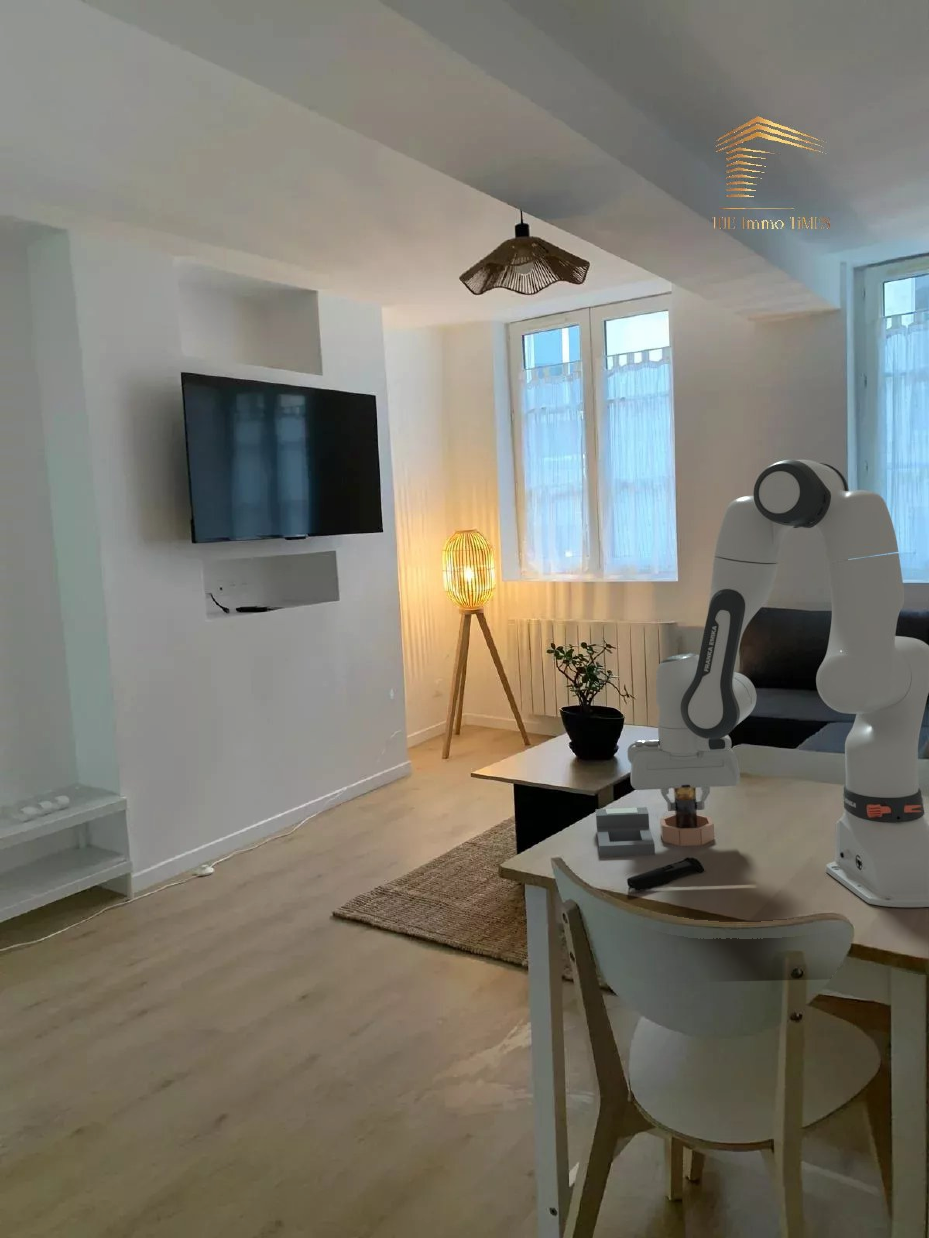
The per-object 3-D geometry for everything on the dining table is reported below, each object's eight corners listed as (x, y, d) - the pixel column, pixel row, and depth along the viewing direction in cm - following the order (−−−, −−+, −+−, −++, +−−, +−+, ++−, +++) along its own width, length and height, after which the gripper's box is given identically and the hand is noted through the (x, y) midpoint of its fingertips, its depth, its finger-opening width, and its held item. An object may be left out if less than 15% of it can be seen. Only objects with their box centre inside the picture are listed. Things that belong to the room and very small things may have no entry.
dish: (717, 846, 175) (716, 828, 174) (664, 848, 176) (663, 830, 175) (708, 829, 184) (708, 812, 184) (659, 831, 185) (658, 814, 185)
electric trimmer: (622, 892, 158) (621, 874, 158) (692, 869, 165) (691, 851, 165) (636, 899, 155) (635, 880, 154) (707, 875, 162) (706, 857, 162)
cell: (699, 830, 177) (696, 780, 176) (677, 831, 178) (674, 781, 177) (696, 823, 182) (693, 774, 180) (674, 824, 182) (671, 775, 181)
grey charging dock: (655, 857, 172) (653, 829, 171) (600, 859, 173) (598, 831, 172) (647, 831, 185) (646, 806, 185) (597, 833, 187) (595, 808, 186)
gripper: (628, 745, 176) (632, 816, 177) (739, 740, 174) (742, 812, 175) (625, 737, 182) (629, 806, 184) (733, 732, 180) (736, 802, 181)
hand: (685, 809), depth 179 cm, fingers closed on cell, 4 cm apart
